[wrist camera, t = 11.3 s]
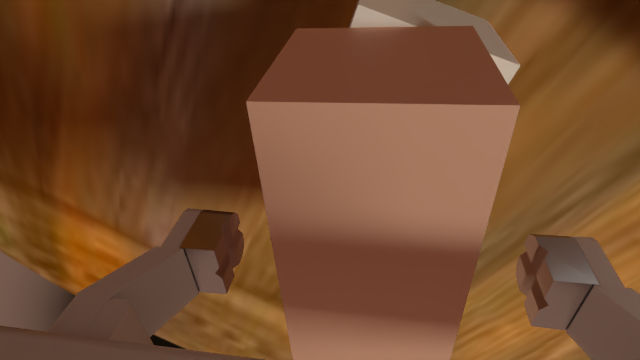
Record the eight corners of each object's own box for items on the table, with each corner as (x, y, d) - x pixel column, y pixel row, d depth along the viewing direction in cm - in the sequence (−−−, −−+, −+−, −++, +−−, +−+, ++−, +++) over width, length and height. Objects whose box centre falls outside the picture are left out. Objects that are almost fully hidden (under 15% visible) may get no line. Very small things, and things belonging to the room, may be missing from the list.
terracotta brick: (472, 25, 11) (520, 105, 7) (430, 266, 17) (443, 384, 13) (296, 28, 11) (245, 101, 8) (316, 258, 17) (294, 366, 13)
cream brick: (486, 19, 15) (520, 65, 11) (385, 199, 21) (383, 270, 17) (367, -27, 15) (358, 4, 11) (298, 170, 21) (277, 235, 17)
